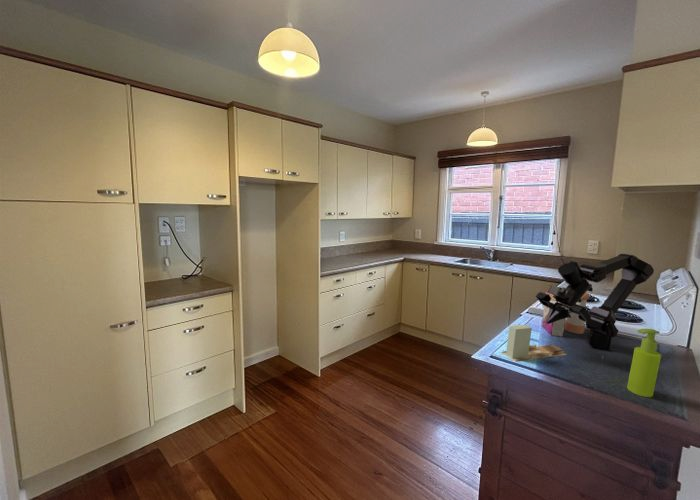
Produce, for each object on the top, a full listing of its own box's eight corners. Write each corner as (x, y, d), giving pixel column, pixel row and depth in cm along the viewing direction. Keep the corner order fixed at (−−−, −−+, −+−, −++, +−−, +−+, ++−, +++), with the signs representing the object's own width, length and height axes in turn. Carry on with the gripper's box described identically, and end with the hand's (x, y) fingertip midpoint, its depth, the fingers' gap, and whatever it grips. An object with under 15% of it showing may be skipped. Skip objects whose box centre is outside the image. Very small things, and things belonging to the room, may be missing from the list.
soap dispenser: (618, 385, 99) (630, 325, 96) (639, 385, 100) (651, 325, 97) (637, 397, 94) (649, 334, 90) (658, 397, 94) (671, 334, 91)
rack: (549, 347, 124) (550, 341, 123) (566, 356, 117) (567, 350, 117) (500, 354, 117) (501, 348, 117) (515, 364, 110) (516, 357, 110)
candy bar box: (540, 325, 146) (545, 291, 143) (552, 326, 145) (557, 292, 142) (550, 335, 135) (555, 299, 132) (563, 337, 134) (569, 300, 131)
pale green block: (521, 352, 117) (525, 324, 115) (527, 356, 114) (531, 327, 113) (505, 354, 115) (509, 326, 113) (512, 358, 112) (515, 329, 111)
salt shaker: (588, 333, 139) (595, 291, 136) (574, 334, 137) (581, 292, 134) (573, 326, 146) (579, 286, 143) (560, 327, 144) (566, 287, 141)
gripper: (542, 272, 124) (516, 301, 123) (589, 285, 106) (560, 319, 105) (555, 289, 127) (530, 318, 126) (603, 305, 110) (574, 338, 109)
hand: (547, 322), depth 116 cm, fingers closed
